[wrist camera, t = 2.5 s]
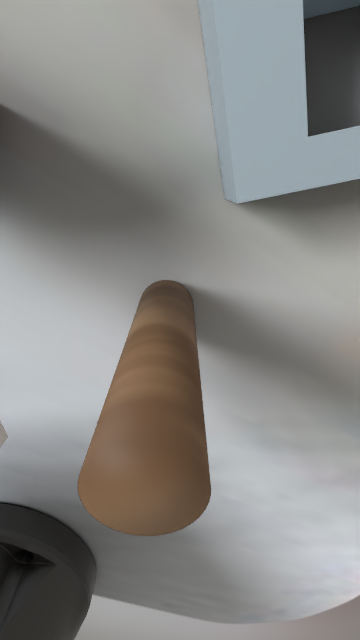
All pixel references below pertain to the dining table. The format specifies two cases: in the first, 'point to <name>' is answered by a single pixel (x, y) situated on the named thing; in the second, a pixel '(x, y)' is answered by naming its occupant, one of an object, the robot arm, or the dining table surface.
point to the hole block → (269, 99)
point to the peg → (151, 425)
